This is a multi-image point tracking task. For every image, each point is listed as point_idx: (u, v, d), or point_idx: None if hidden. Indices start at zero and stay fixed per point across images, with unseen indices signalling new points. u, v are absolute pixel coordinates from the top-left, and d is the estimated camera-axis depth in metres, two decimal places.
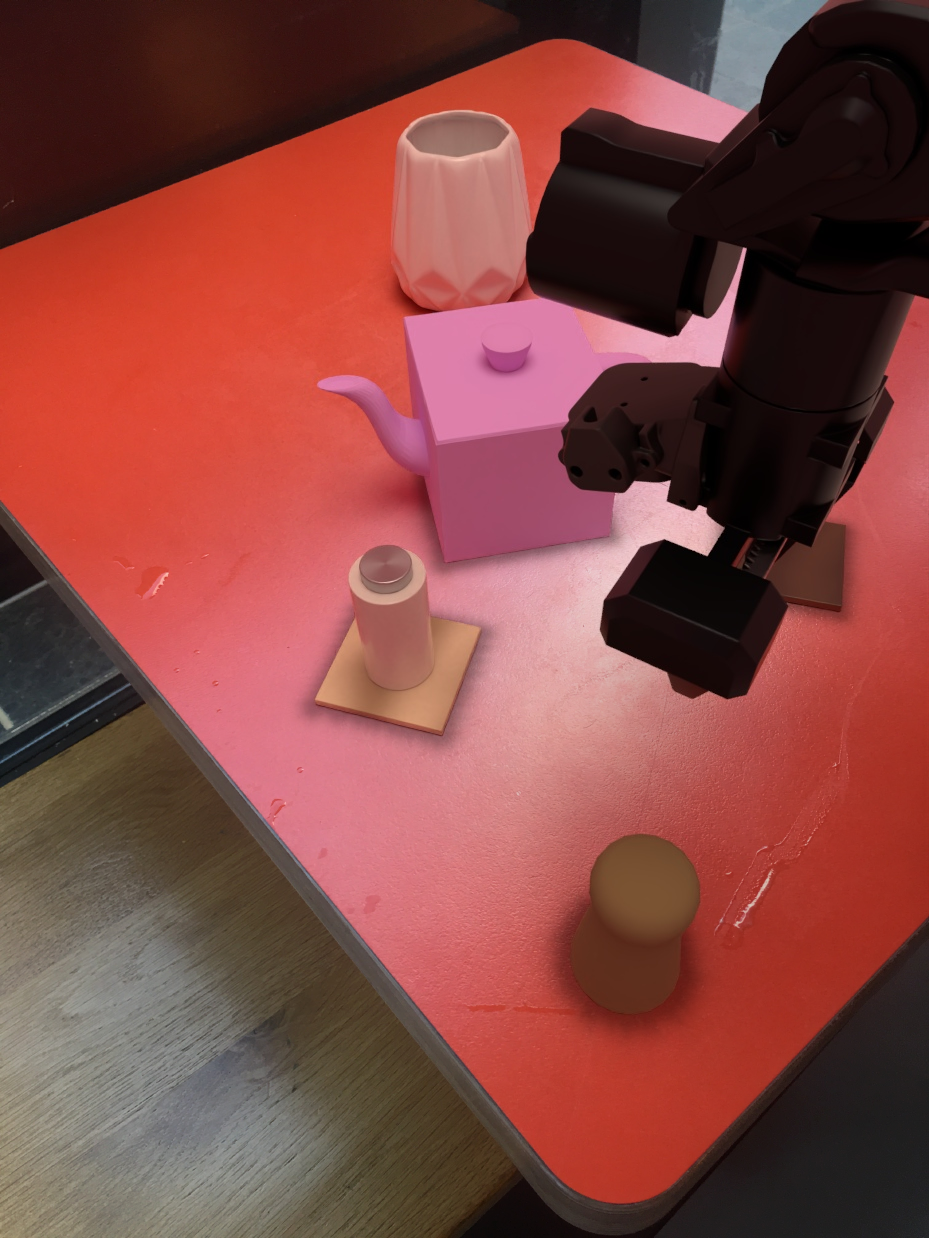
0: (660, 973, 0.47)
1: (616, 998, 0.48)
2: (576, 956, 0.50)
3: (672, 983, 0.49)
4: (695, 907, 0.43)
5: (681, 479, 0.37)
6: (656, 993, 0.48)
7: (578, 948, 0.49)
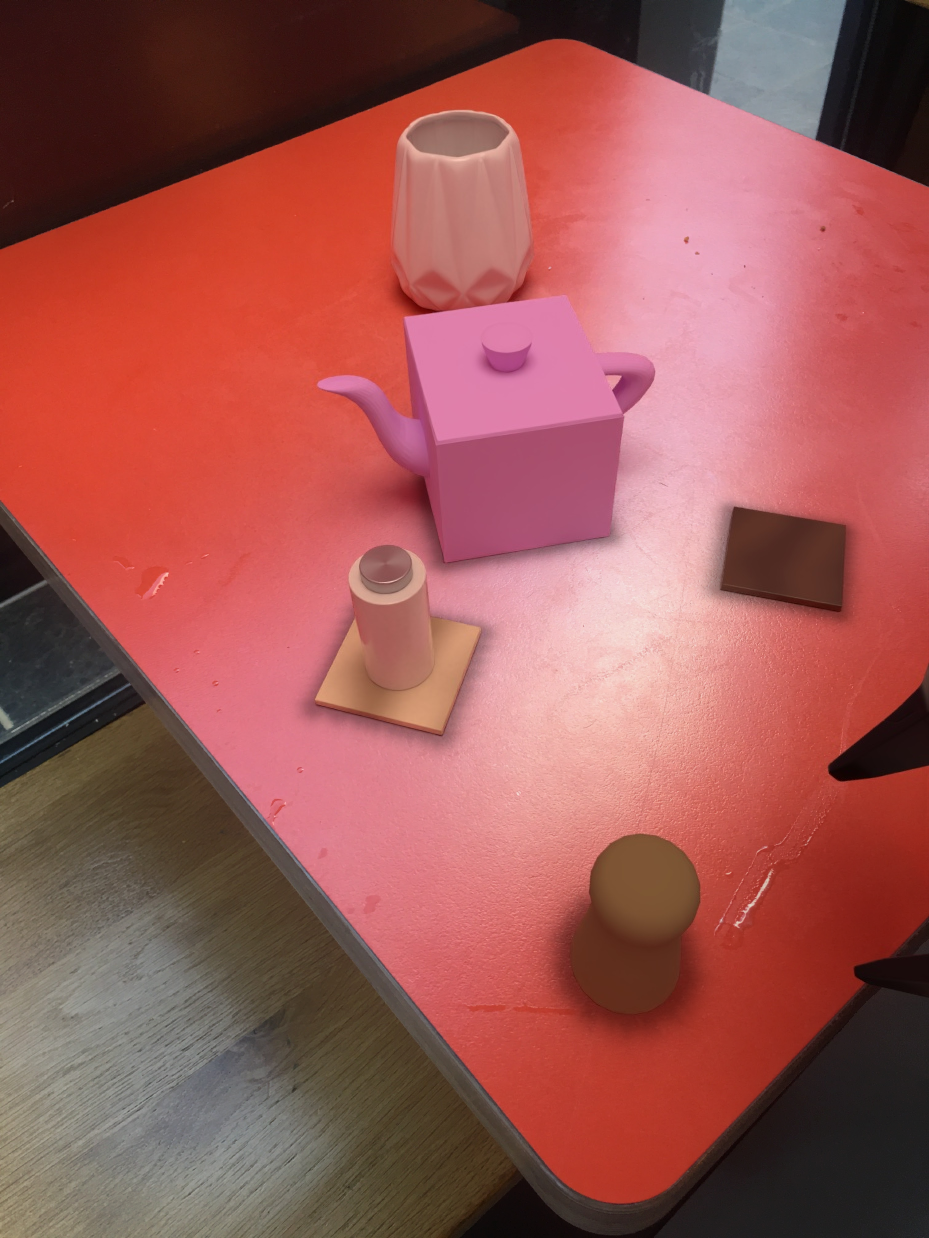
0: (660, 973, 0.47)
1: (616, 998, 0.48)
2: (576, 956, 0.50)
3: (672, 983, 0.49)
4: (695, 907, 0.43)
5: None
6: (656, 993, 0.48)
7: (578, 948, 0.49)
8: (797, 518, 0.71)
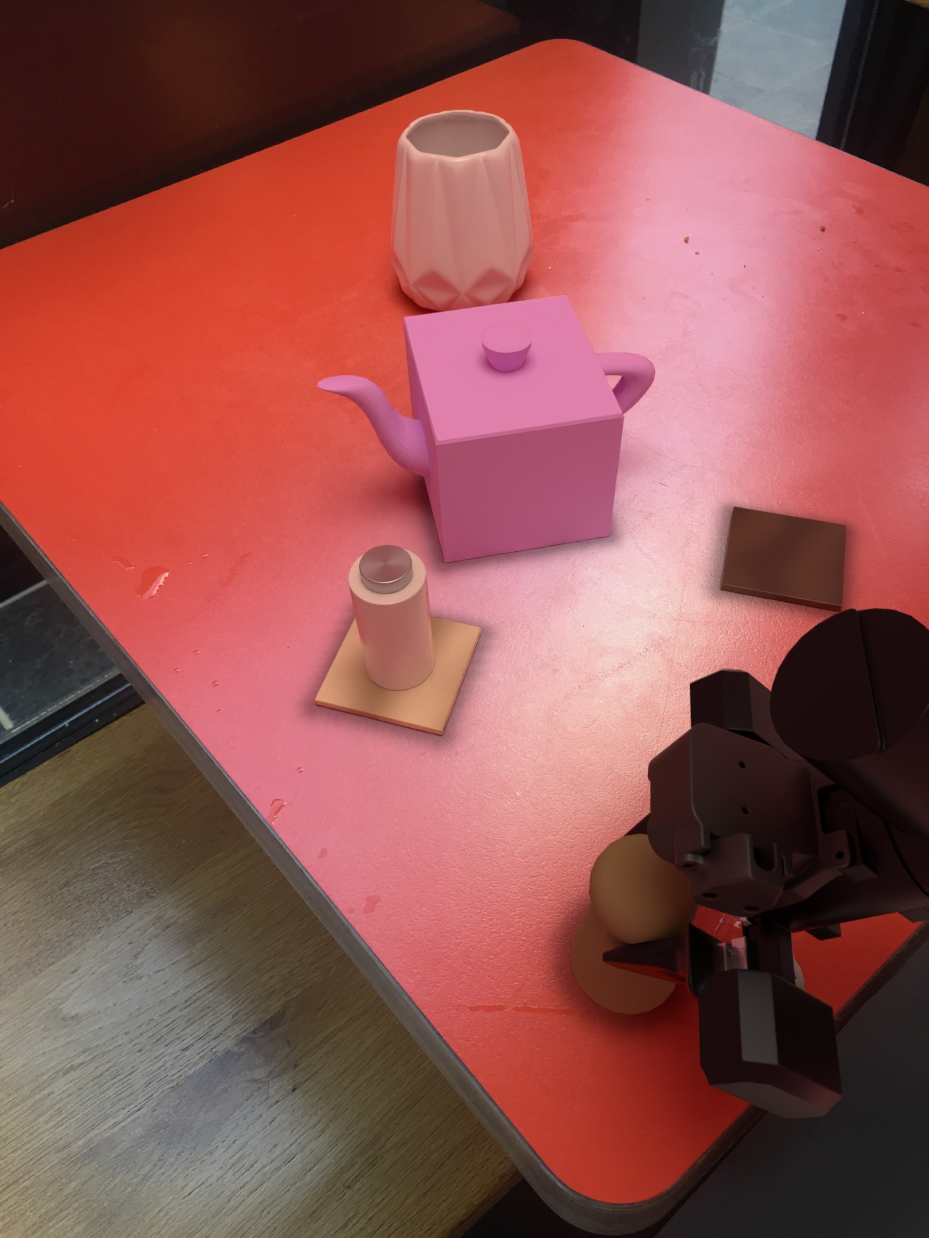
0: None
1: (616, 998, 0.48)
2: (576, 956, 0.50)
3: (672, 983, 0.49)
4: (695, 907, 0.43)
5: (778, 898, 0.36)
6: (656, 993, 0.48)
7: (578, 948, 0.49)
8: (797, 518, 0.71)
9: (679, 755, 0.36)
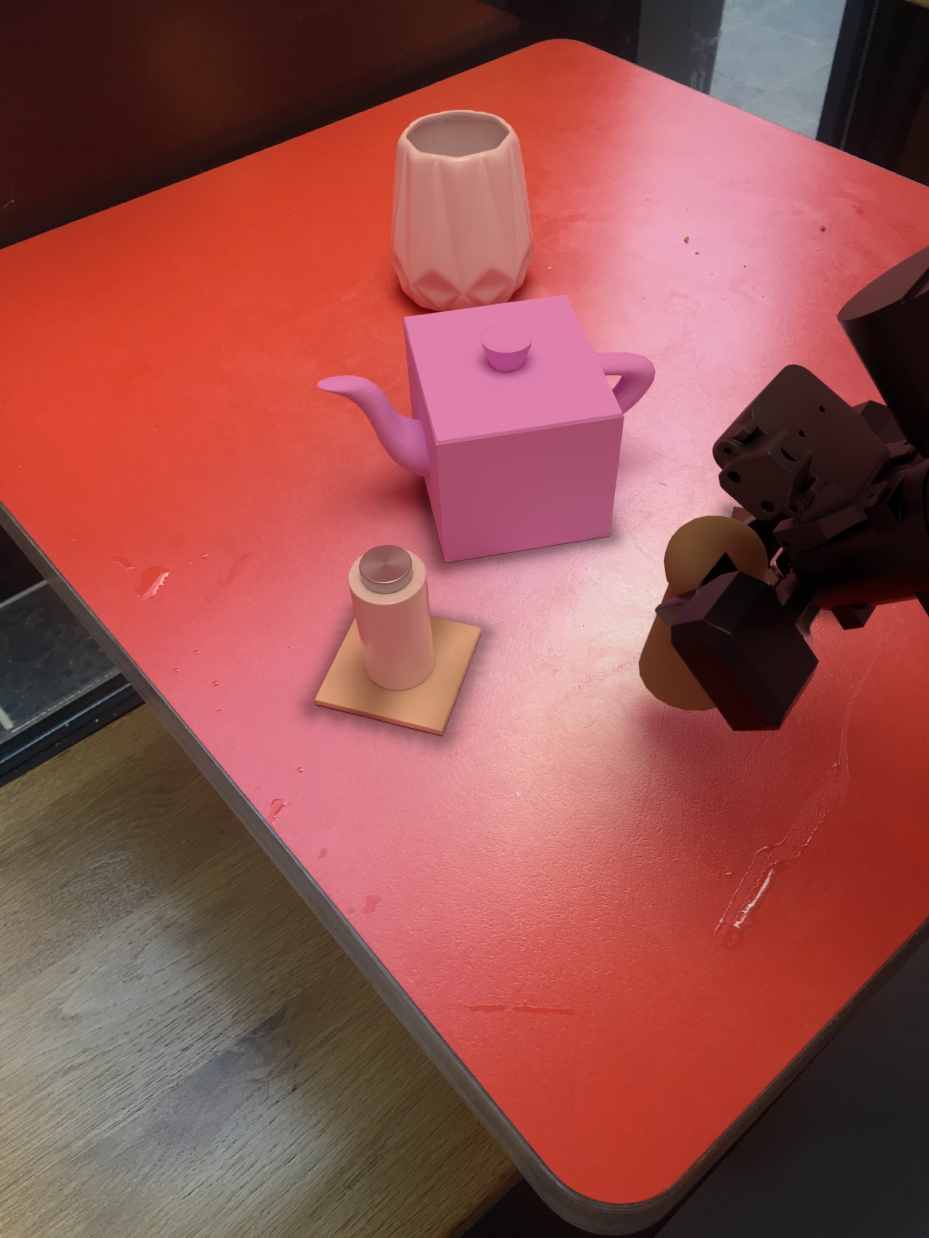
0: None
1: (661, 680, 0.53)
2: (645, 642, 0.55)
3: None
4: None
5: (804, 533, 0.39)
6: (697, 689, 0.52)
7: (649, 632, 0.54)
8: None
9: None
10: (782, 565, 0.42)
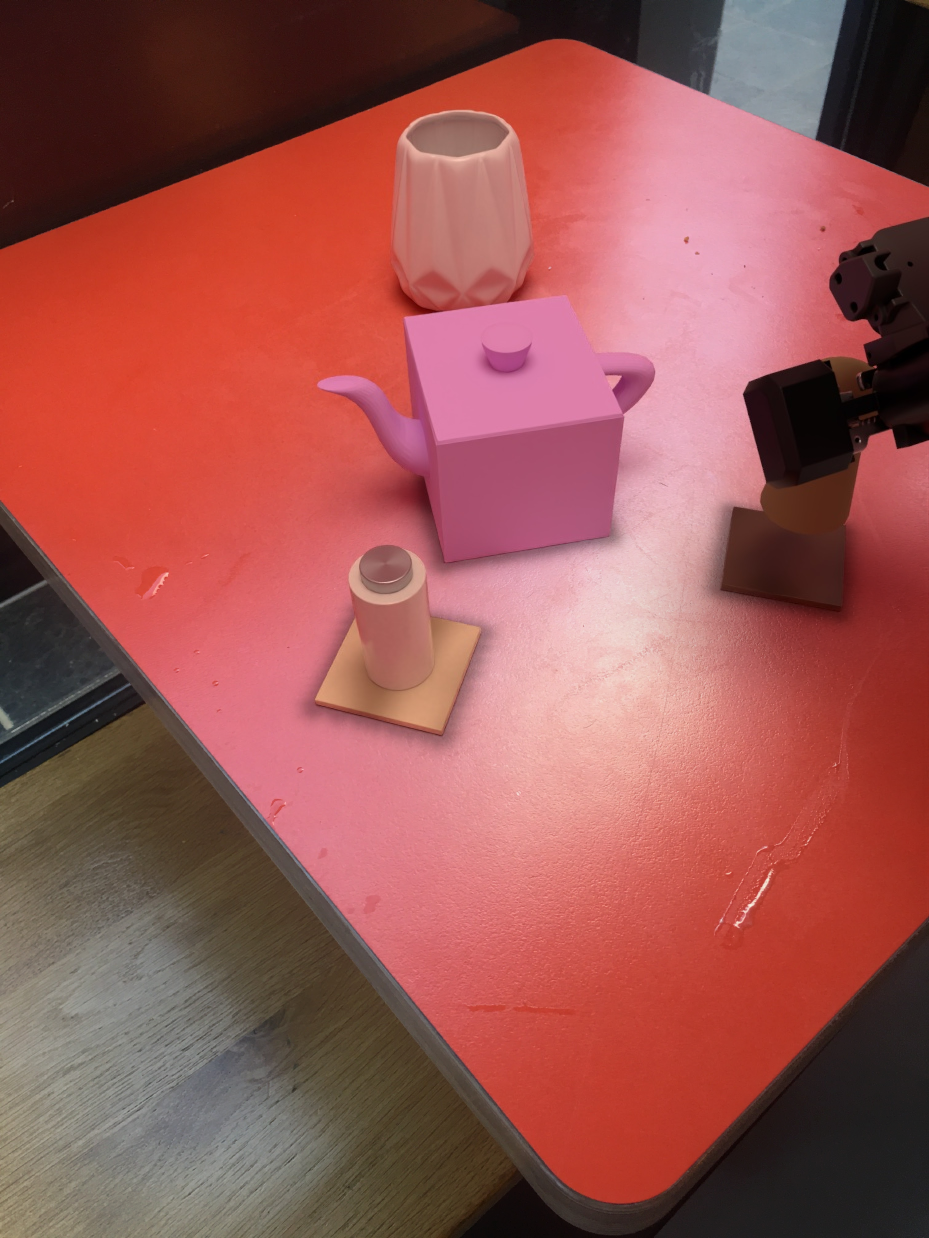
0: None
1: (771, 494, 0.63)
2: None
3: (810, 520, 0.62)
4: None
5: (882, 346, 0.49)
6: (794, 508, 0.62)
7: None
8: None
9: None
10: (866, 379, 0.51)
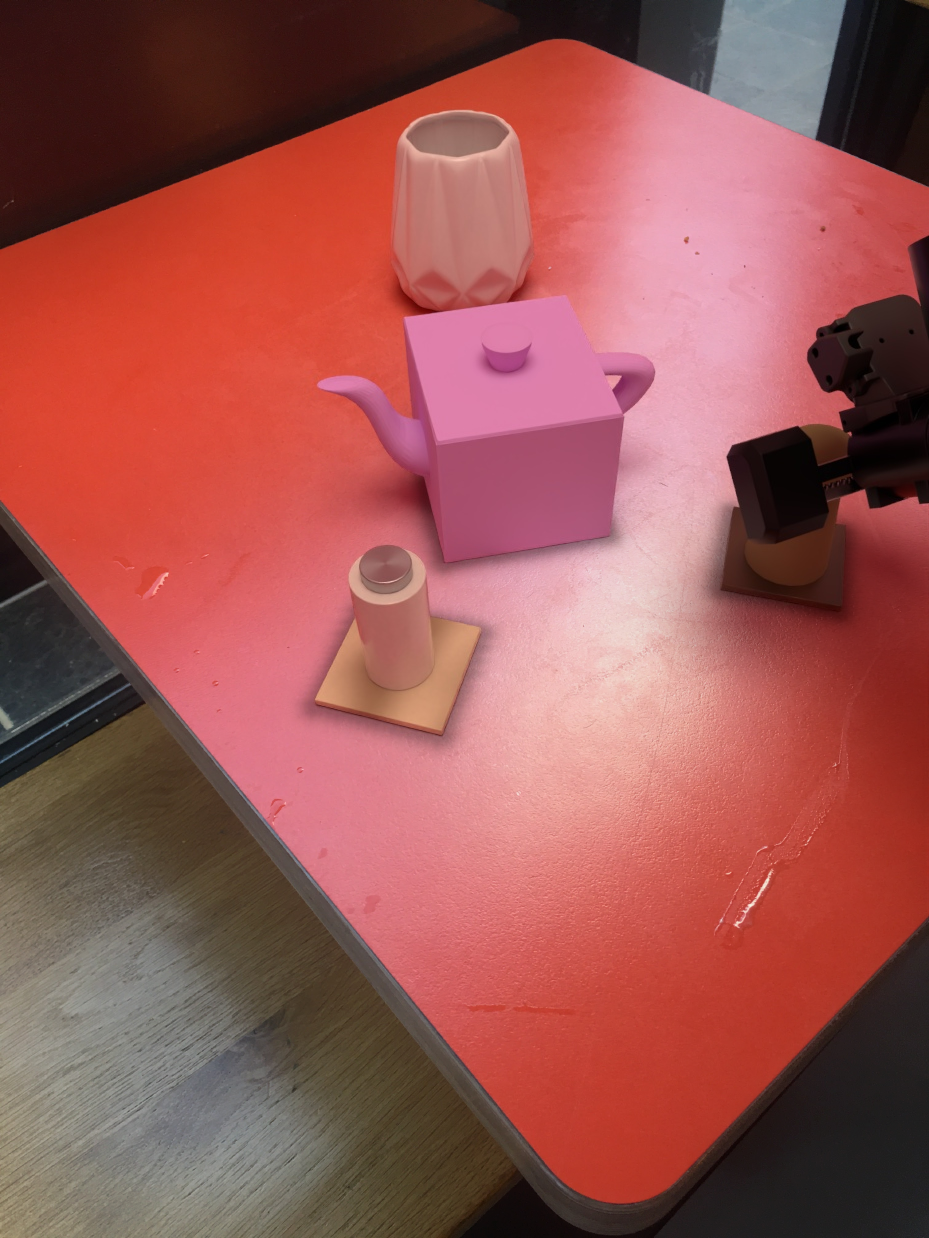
0: None
1: (754, 546, 0.67)
2: None
3: (790, 572, 0.66)
4: None
5: (856, 415, 0.53)
6: (775, 562, 0.66)
7: None
8: None
9: None
10: None
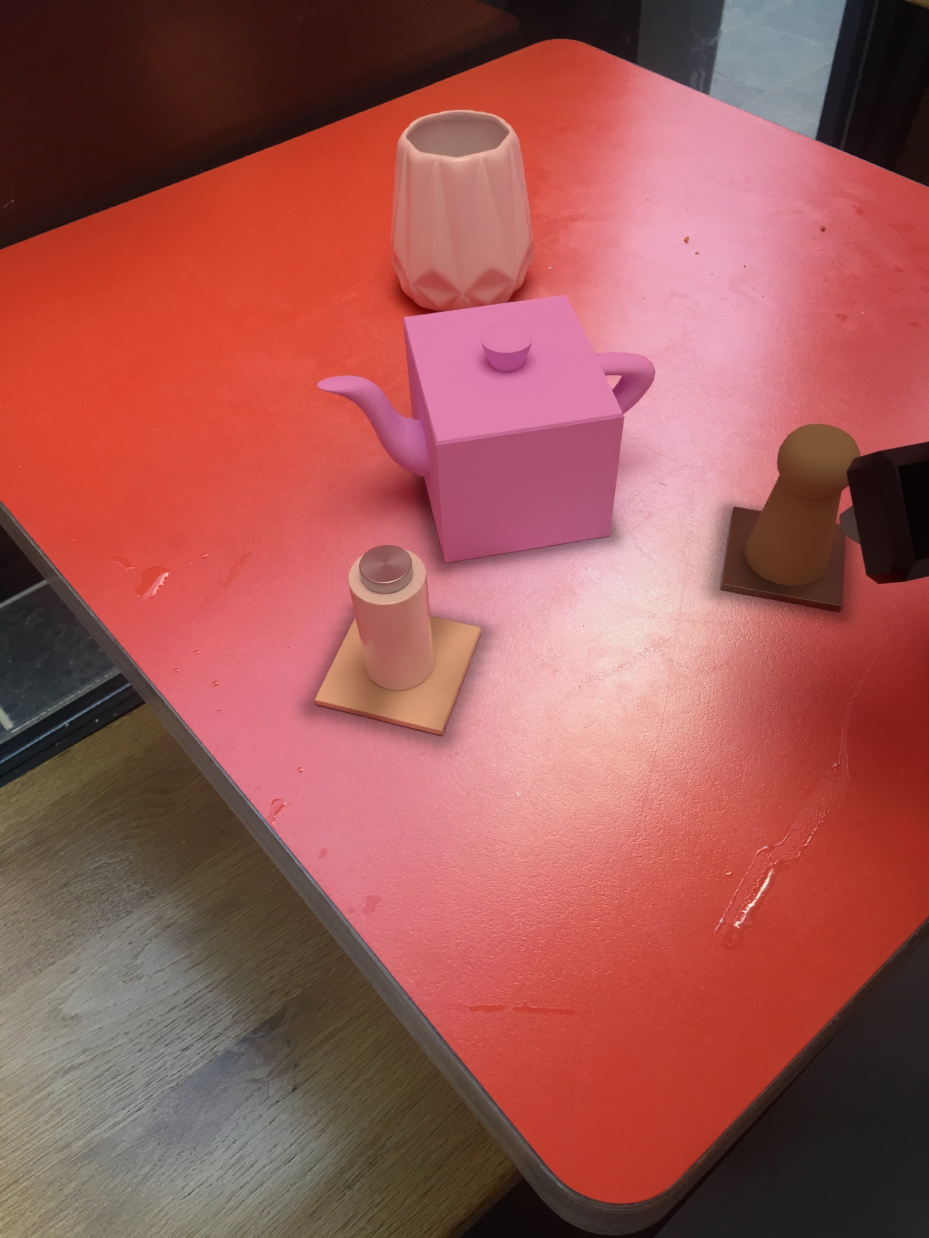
0: (785, 538, 0.65)
1: (754, 546, 0.67)
2: None
3: (790, 572, 0.66)
4: (828, 475, 0.60)
5: None
6: (775, 561, 0.66)
7: None
8: None
9: None
10: None
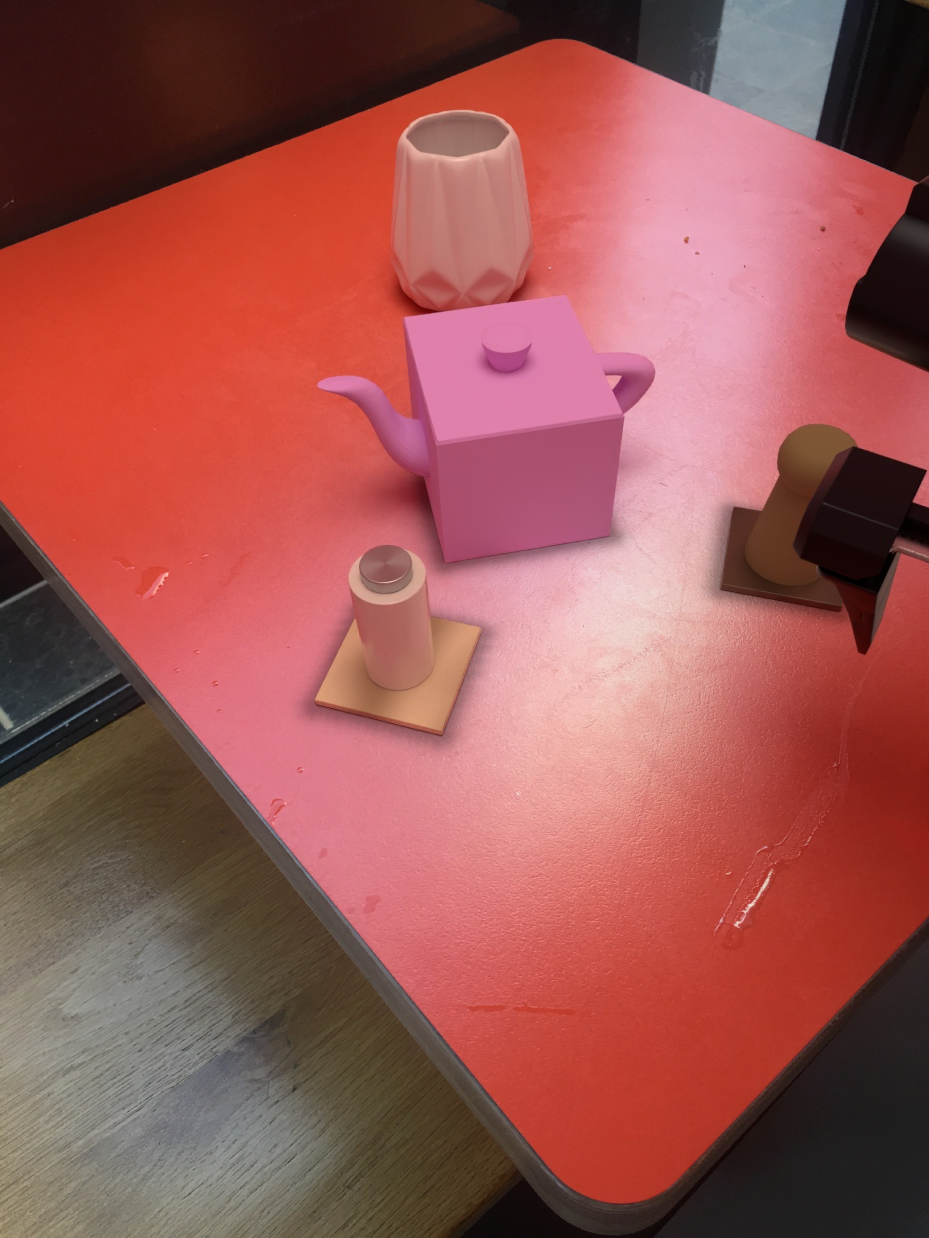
0: (785, 538, 0.65)
1: (754, 546, 0.67)
2: None
3: (790, 572, 0.66)
4: None
5: None
6: (775, 561, 0.66)
7: None
8: None
9: None
10: None
